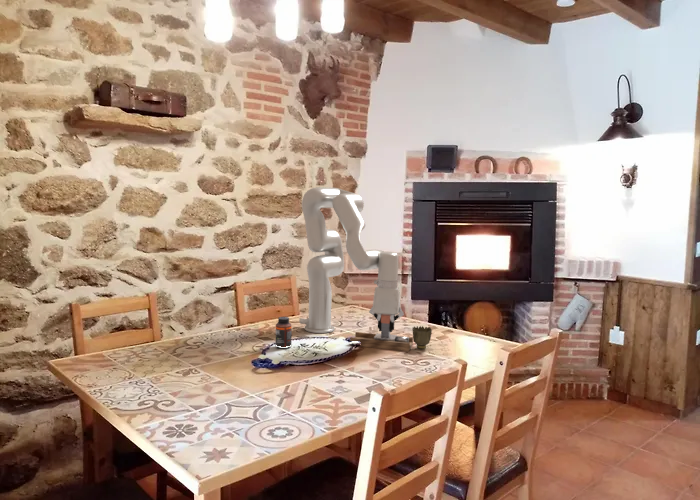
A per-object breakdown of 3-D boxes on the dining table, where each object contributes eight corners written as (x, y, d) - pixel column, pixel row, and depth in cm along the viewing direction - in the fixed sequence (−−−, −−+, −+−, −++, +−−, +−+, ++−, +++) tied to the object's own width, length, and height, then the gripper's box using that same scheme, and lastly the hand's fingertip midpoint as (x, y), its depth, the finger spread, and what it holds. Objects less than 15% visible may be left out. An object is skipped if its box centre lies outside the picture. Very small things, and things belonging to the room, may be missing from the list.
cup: (432, 351, 210) (433, 331, 209) (412, 351, 211) (413, 330, 210) (429, 346, 218) (430, 326, 217) (410, 345, 218) (411, 325, 217)
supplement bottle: (292, 345, 213) (293, 316, 212) (289, 349, 207) (290, 320, 206) (277, 344, 214) (277, 315, 213) (273, 349, 208) (274, 319, 207)
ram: (373, 342, 216) (374, 315, 214) (376, 338, 221) (377, 312, 220) (407, 345, 212) (408, 318, 211) (409, 341, 218) (410, 315, 217)
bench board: (349, 345, 216) (349, 338, 216) (356, 338, 226) (356, 331, 225) (408, 351, 210) (409, 343, 210) (412, 344, 220) (413, 337, 220)
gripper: (364, 284, 213) (362, 331, 215) (407, 287, 209) (405, 335, 211) (368, 281, 221) (367, 326, 223) (410, 284, 217) (408, 330, 219)
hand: (385, 330), depth 217 cm, fingers closed on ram, 3 cm apart
